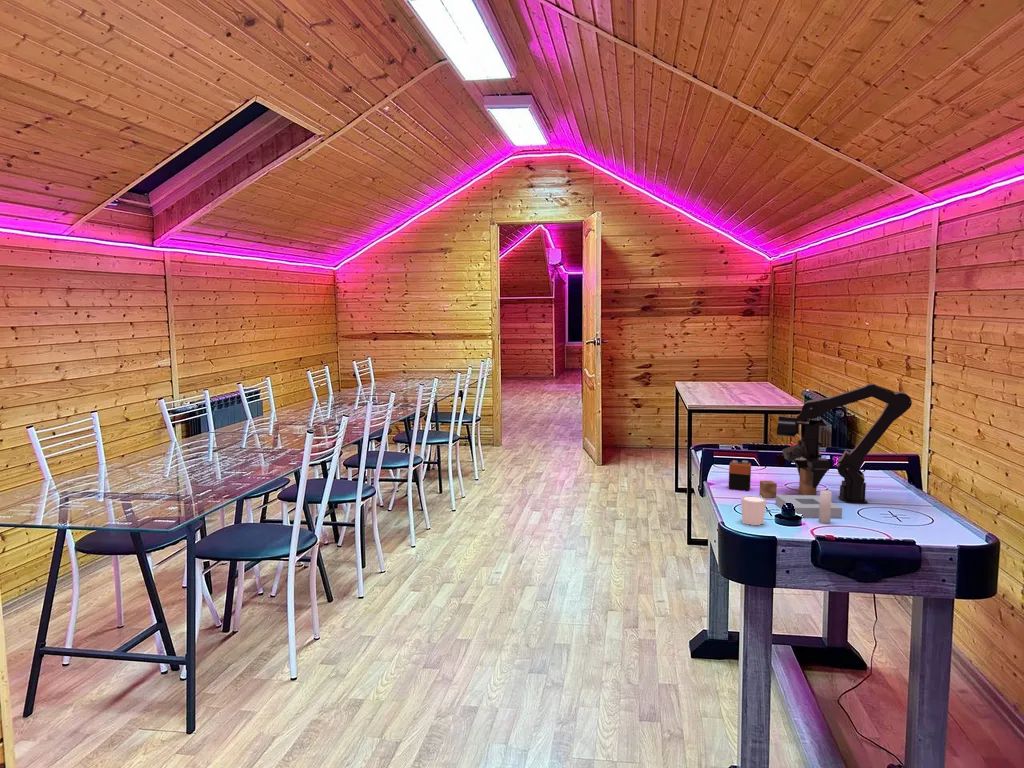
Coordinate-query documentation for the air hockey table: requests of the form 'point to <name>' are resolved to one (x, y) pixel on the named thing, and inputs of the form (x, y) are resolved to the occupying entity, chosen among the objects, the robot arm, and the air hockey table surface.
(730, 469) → the battery
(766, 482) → the short brown block
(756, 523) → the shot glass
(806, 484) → the brown rectangular block
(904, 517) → the air hockey table surface
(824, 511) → the gauge block
